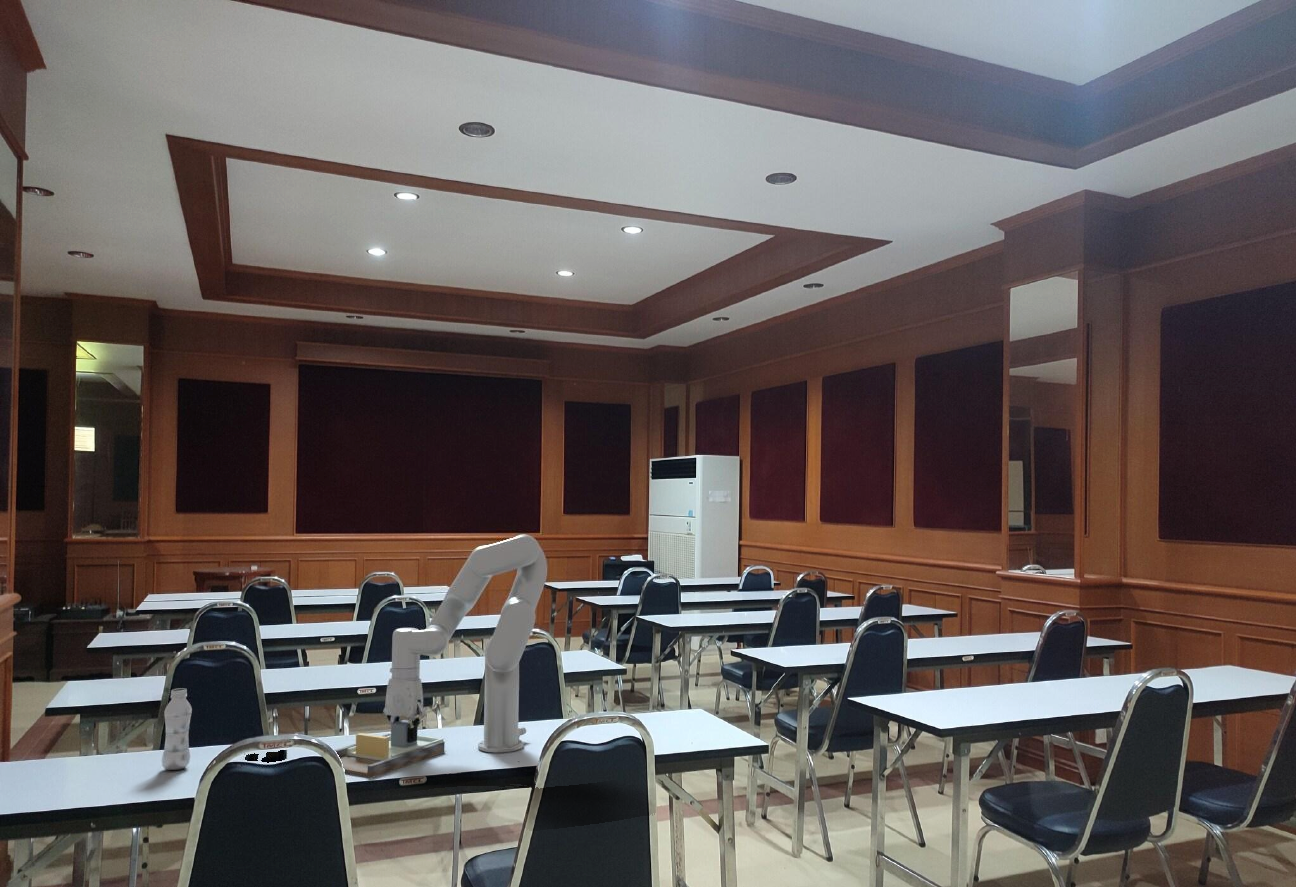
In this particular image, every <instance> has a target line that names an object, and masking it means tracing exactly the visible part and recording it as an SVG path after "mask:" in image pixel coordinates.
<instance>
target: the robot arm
mask: <svg viewBox="0 0 1296 887" xmlns="http://www.w3.org/2000/svg"><path fill="white" fill-rule="evenodd" d="M514 570H517V571H516V576H515V577H514V581H513V583H512V587H511V588H510V589H511V590H510V591H509V594H508V597H507V599H506V600H505V602H504V604H503V606H502V607H501V610H500V617H499V618H498V621H497V624H496V627H495V629H494V631H493V633H492V634H493V635H492V636H490V638H489V639H488V640H487V642H486V644H485V646H484V647H485V649H484V706H483V707H484V708H483V710H484V714H483V715H484V716H483V740H482V741H479V743H478V744H477V748H478V750H480V751H482V752H486V753H497V754H498V753H511V752H516V751H519V750H521V749H523V748H524V741H523V740H521V739H520V737H521V736H523V735H525V734H526V733H527V729H526V728H525V727H520V728H519V704H520V703H519V700H520V699H519V697H520V695H519V691H520V660H521V659H522V656H523V654H524V652H525V649H526V646H527V644H528V642H529V639H530V637H531V635H532V633H533V629H534V628H535V623H536V618H537V617H536V608H537V606H538V603H539V600H540V598H541V595H542V592H543V589H544V588H545V585H546V581H547V576H548V562H547V558H546V555H545V553H544V550H543V549H542V547H541V546H540V544H539V542H538V540H536V538H534V537H533V536H532V535H529V534H526V533H525V534H518V535H516V536H515V537H513V538H509V539H506V540H503V541H500V542H499V541H498V542H496V543H492V544H488V545H480V546H477V547H475V549H473V551H472V552H471V553H470V555H469V556H468V558H467V560H466V561H465V563H464V564H463V565H462V568H461V569H460V571H459V572H458V574H457V575H456V578H455V579H454V580H453V581H452V584H451V585H450V586H449V588H448V590H447V591H446V594H445V596H444V598H443V600H442V602H441V604H440V605H439V607H438V609H437V611H436V612H435V613H434V615H433V616H432V618H431V620H430V622H429V623H428V625H427V626H426V628H425V629H420V630H419V629H418V628H417V627H416V628H415V627H400V628H396V629H395V630H394V631H393V633H392V637H391V638H392V642H391V643H392V645H391V667H390V669H389V672H390V673H391V677H389V679H388V681H387V686H386V695H385V705H384V708H383V711H382V712H383V714H384V715H385V717H386V718H387V719H388V721H389V726H391V723H395V722H398V721H401V718H407V720H408V722H409V727H410V728H408V740H407V742H408V743H411V742H414V741H416V740H417V735H418V727H419V726H420V724H421V723H422V721H423V720H425V719H426V718H427V717H428V715H427V714H428V713H427V712H426V711H425V708H424V695H423V693H424V692H423V684H422V678H420V670H421V669H420V667H421V666H420V665H421V655H423V656H429V657H430V656H431V657H436V656H439V655H441V654H443V653H444V652H445V651H446V650H447V647H448V644H449V641H450V639H451V638H452V636H453V634H454V633H455V631H456V630H457V629H458V626H459V625H460V624H461V622H462V620H463V619H464V618H465V616H466V615H467V614H468V613H469V612H470V611H471V610H472V609H473V608H474V606H475V605H476V603H477V601H478V600H479V598H480V597H481V595H482V593H483V591H484V590H485V589H486V586H487V585H488V584H489V582H490V580H491V579H492V577H493V576H497V575H500V574H504V573H507V572H510V571H514ZM417 726H418V727H417Z"/></svg>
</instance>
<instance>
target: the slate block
mask: <svg viewBox="0 0 1296 887" xmlns="http://www.w3.org/2000/svg"><path fill="white" fill-rule="evenodd" d="M418 727H419V726H417V728H418ZM408 728H410V727H409V722H408V719H402V720H400V721H398V722H395V723H391V725H390V734H391V746H395V747H402V748H406V747H409V746H412V745H415V744H417V740H416V741H414V742H411V743H408V742H407V740H408Z"/></svg>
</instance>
